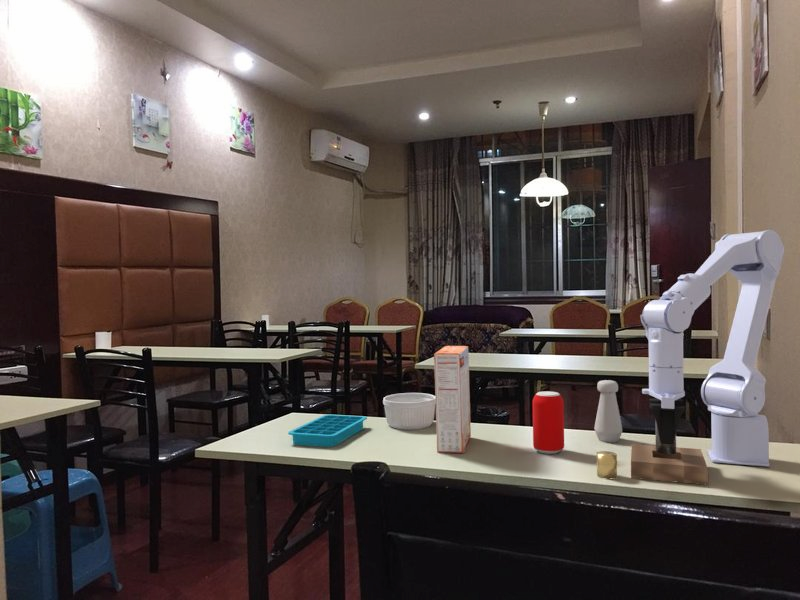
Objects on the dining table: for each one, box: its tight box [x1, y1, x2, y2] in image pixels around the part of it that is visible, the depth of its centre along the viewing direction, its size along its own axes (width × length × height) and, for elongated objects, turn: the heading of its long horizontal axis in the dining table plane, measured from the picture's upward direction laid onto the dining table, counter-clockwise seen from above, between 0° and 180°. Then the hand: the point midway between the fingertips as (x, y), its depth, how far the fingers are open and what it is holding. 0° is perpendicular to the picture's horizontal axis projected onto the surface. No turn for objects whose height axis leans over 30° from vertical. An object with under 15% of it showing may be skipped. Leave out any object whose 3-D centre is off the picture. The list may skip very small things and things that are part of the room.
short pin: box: [596, 450, 618, 480], centre depth 106 cm, size 3×3×4 cm
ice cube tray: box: [287, 414, 368, 448], centre depth 140 cm, size 12×20×3 cm, turn 161°
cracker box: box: [433, 345, 472, 454], centre depth 129 cm, size 14×6×21 cm, turn 167°
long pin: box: [654, 419, 677, 454], centre depth 108 cm, size 3×3×7 cm
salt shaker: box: [593, 379, 623, 443], centre depth 131 cm, size 6×6×13 cm
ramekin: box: [382, 392, 436, 431], centre depth 149 cm, size 13×13×7 cm
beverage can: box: [532, 390, 565, 455], centre depth 123 cm, size 6×6×12 cm
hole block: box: [630, 443, 709, 486], centre depth 108 cm, size 12×12×3 cm
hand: (666, 441), depth 108 cm, fingers closed on long pin, 3 cm apart
